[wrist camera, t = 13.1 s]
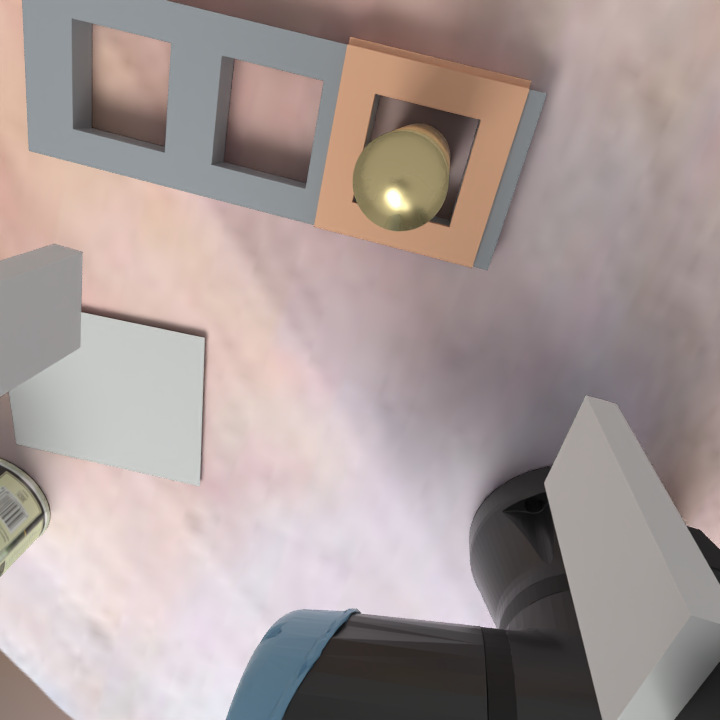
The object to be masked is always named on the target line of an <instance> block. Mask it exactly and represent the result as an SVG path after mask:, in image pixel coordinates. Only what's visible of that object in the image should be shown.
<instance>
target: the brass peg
mask: <svg viewBox="0 0 720 720" xmlns="http://www.w3.org/2000/svg"><path fill="white" fill-rule="evenodd" d="M449 170H450V149H449V145H448V143H447V141H446V139H445V137H444V136H443V135H442V133H441V132H440V131H438V130H437V129H436V128H434V127H432V126H430V125H427V124H423V123H414V124H410V125H407V126H404V127H401V128H399V129H396V130H394V131H391V132H389V133H386V134H384V135H381V136H379V137H377V138H376V139H374V140H373V141H372V142H370V143H369V144H368V145H367V146H366V147H365V148H364V150H363V151H362V152H361V154H360V156H359V157H358V159H357V162H356V164H355V168H354V171H353V183H352V184H353V192H354V196H355V199H356V202H357V204H358V206H359V208H360V209H361V211H362V212H363V214H364V215H365V216H366V217H367V218H368V219H369V220H370V221H371V222H373V223H374V224H376V225H377V226H380V227H382V228H384V229H387V230H391V231H409V230H413V229H416V228H419V227H420V226H422V225H424V224H426V223H427V222H429V221H430V220H431V219H432V218H433V217H434V216H435V215H436V214H437V213H438V211H439V210H440V208H441V207H442V205H443V203H444V201H445V198H446V195H447V191H448V183H449Z"/></svg>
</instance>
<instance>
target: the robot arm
mask: <svg viewBox="0 0 720 720" xmlns="http://www.w3.org/2000/svg"><path fill="white" fill-rule="evenodd" d="M82 253H83V252H82V251H78V250H74V249H71V248H67V247H64V246H60V245H57V244H52V245H49V246H46V247H43V248H39V249H36V250H33V251H30V252H27V253H23V254H20V255H17V256H14V257H11V258H7V259H4V260H1V261H0V397H1V396H2V395H4V394H5V393H7V392H9V391H10V390H12V389H14V388H15V387H17V386H19V385H20V384H22V383H23V382H25V381H27V380H28V379H30V378H32V377H33V376H35V375H36V374H38V373H40V372H41V371H43V370H45V369H46V368H48V367H50V366H51V365H53V364H54V363H56V362H58V361H59V360H61V359H63V358H64V357H66V356H67V355H69V354H71V353H72V352H74V351H76V350H77V349H79V348H80V343H81V298H82ZM469 547H470V565H471V570H472V574H473V578H474V580H475V583H476V585H477V587H478V589H479V591H480V592H481V595H482V597H483V599H484V602H485V604H486V606H487V608H488V610H489V613H490V615H491V617H492V619H493V621H494V623H495V625H496V627H497V629H494V628H485V627H480V626H471V625H462V624H452V623H443V622H434V621H424V620H415V619H405V618H396V617H387V616H377V615H368V614H361V612H360V611H359V610H358V609H348V610H346V611H328V610H308V609H303V610H296V611H293V612H290V613H288V614H286V615H284V616H283V617H282V618H280V619H279V620H278V621H277V622H276V623H275V624H274V625H273V626H272V627H271V628H270V629H269V630H268V632H267V633H266V634H265V636H264V637H263V639H262V640H261V642H260V644H259V645H258V646H257V648H256V650H255V651H254V653H253V655H252V657H251V659H250V661H249V663H248V665H247V667H246V669H245V671H244V673H243V676H242V678H241V680H240V682H239V685H238V688H237V690H236V693H235V695H234V698H233V700H232V703H231V706H230V709H229V712H228V715H227V718H226V720H720V549H719V548H718V547H717V546H716V545H715V544H714V543H713V542H712V541H711V540H710V539H709V538H708V537H707V536H706V535H705V534H704V533H703V532H702V531H701V530H699V529H695V528H692V527H688V526H686V524H685V523H684V521H683V519H682V517H681V516H680V514H679V512H678V510H677V509H676V507H675V505H674V503H673V502H672V500H671V498H670V496H669V495H668V493H667V491H666V489H665V488H664V486H663V484H662V482H661V481H660V479H659V477H658V475H657V474H656V472H655V470H654V468H653V467H652V465H651V463H650V461H649V460H648V458H647V456H646V454H645V453H644V451H643V449H642V447H641V446H640V444H639V442H638V440H637V439H636V437H635V435H634V433H633V431H632V430H631V428H630V426H629V424H628V423H627V421H626V419H625V417H624V416H623V414H622V412H621V410H620V409H619V407H618V405H617V404H616V403H612V402H609V401H605V400H602V399H598V398H595V397H591V396H588V395H586V396H585V398H584V400H583V402H582V404H581V407H580V409H579V411H578V413H577V415H576V417H575V419H574V421H573V423H572V425H571V428H570V430H569V432H568V434H567V436H566V438H565V440H564V442H563V444H562V446H561V449H560V451H559V453H558V455H557V457H556V459H555V461H554V463H553V465H552V467H547V468H542V469H538V470H534V471H531V472H528V473H525V474H522V475H520V476H518V477H516V478H513V479H512V480H510V481H508V482H506V483H505V484H503V485H502V486H500V487H499V488H498V489H496V490H495V491H494V492H493V493H492V494H491V495H490V496H489V497H488V498H487V499H486V500H485V501H484V502H483V503H482V505H481V506H480V508H479V509H478V511H477V513H476V515H475V517H474V519H473V522H472V525H471V529H470V536H469Z"/></svg>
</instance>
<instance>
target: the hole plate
mask: <svg viewBox="0 0 720 720" xmlns="http://www.w3.org/2000/svg"><path fill="white" fill-rule="evenodd" d="M22 8H23V31H24V53H25V76H26V98H27V121H28V143H29V151H32V152H35V153H39V154H43V155H47V156H51V157H55V158H58V159H62V160H66V161H70V162H74V163H78V164H81V165H85V166H89V167H93V168H97V169H101V170H104V171H108V172H112V173H116V174H120V175H124V176H128V177H131V178H135V179H139V180H143V181H147V182H151V183H154V184H158V185H162V186H166V187H170V188H174V189H177V190H181V191H185V192H189V193H193V194H197V195H200V196H204V197H208V198H212V199H216V200H220V201H223V202H227V203H231V204H235V205H239V206H243V207H247V208H250V209H254V210H258V211H262V212H266V213H270V214H273V215H277V216H281V217H285V218H289V219H293V220H296V221H300V222H304V223H308V224H312V225H314V227H317V228H321V229H325V230H328V231H332V232H336V233H340V234H344V235H348V236H351V237H355V238H359V239H363V240H367V241H371V242H375V243H378V244H382V245H386V246H390V247H394V248H398V249H401V250H405V251H409V252H413V253H417V254H421V255H424V256H428V257H432V258H436V259H440V260H444V261H447V262H451V263H455V264H459V265H463V266H467V267H470V268H472V266H473V267H477V268H481V269H485V270H488V268H489V265H490V262H491V259H492V256H493V253H494V250H495V247H496V244H497V241H498V238H499V235H500V232H501V229H502V226H503V223H504V220H505V217H506V215H507V212H508V209H509V206H510V203H511V200H512V197H513V194H514V191H515V188H516V185H517V182H518V179H519V176H520V173H521V170H522V167H523V164H524V161H525V158H526V155H527V152H528V149H529V146H530V143H531V140H532V137H533V134H534V131H535V128H536V125H537V122H538V119H539V116H540V113H541V110H542V107H543V104H544V101H545V98H546V95H547V93H543V92H539V91H535V90H531V89H529V87H530V84H531V81H530V80H526V79H522V78H518V77H513V76H509V75H505V74H501V73H497V72H493V71H489V70H485V69H481V68H476V67H472V66H468V65H464V64H460V63H456V62H452V61H448V60H444V59H440V58H435V57H431V56H427V55H423V54H419V53H415V52H411V51H407V50H403V49H399V48H394V47H390V46H386V45H382V44H378V43H374V42H370V41H366V40H362V39H358V38H353V37H350V40H349V45H348V44H342V43H338V42H334V41H330V40H326V39H322V38H318V37H314V36H310V35H306V34H302V33H298V32H293V31H289V30H285V29H281V28H277V27H273V26H269V25H265V24H261V23H257V22H253V21H248V20H244V19H240V18H236V17H232V16H228V15H224V14H220V13H216V12H212V11H208V10H203V9H199V8H195V7H191V6H187V5H183V4H179V3H175V2H171V1H167V0H22ZM92 23H93V24H97V25H101V26H105V27H109V28H113V29H117V30H121V31H125V32H129V33H133V34H137V35H141V36H145V37H149V38H153V39H157V40H161V41H165V42H169V43H171V56H170V73H169V89H168V106H167V123H166V140H165V147H164V146H160V145H156V144H152V143H149V142H145V141H141V140H137V139H133V138H129V137H125V136H121V135H117V134H114V133H110V132H106V131H102V130H98V129H94V128H92ZM234 59H238V60H242V61H246V62H250V63H254V64H258V65H262V66H266V67H270V68H274V69H278V70H282V71H286V72H290V73H294V74H298V75H302V76H306V77H310V78H314V79H318V80H322V81H324V84H323V89H322V95H321V101H320V107H319V113H318V119H317V124H316V130H315V136H314V142H313V148H312V154H311V159H310V165H309V171H308V177H307V183H304V182H300V181H296V180H292V179H289V178H285V177H281V176H277V175H273V174H269V173H265V172H261V171H257V170H254V169H250V168H246V167H242V166H238V165H234V164H230V163H226V162H224V152H225V143H226V133H227V124H228V114H229V105H230V95H231V86H232V76H233V67H234ZM380 95H382V96H386V97H390V98H395V99H399V100H403V101H407V102H411V103H415V104H419V105H423V106H427V107H431V108H435V109H439V110H443V111H447V112H451V113H455V114H459V115H463V116H467V117H471V118H475V119H479V122H478V125H477V128H476V132H475V135H474V139H473V142H472V146H471V149H470V152H469V156H468V159H467V163H466V166H465V170H464V173H463V176H462V180H461V183H460V187H459V190H458V194H457V197H456V200H455V204H454V207H453V211H452V214H451V218H450V220H448V219H444V218H440V217H436V216H434V217H433V218H432V219H431V220H430V221H429V222H427V223H426V224H424V225H422V226H420V227H419V228H416V229H413V230H409V231H391V230H387V229H384V228H382V227H380V226H377V225H376V224H374V223H373V222H371V221H370V220H369V219H368V218H367V217H366V216H365V215H364V214H363V212H362V211H361V209H360V208H359V206H358V204H357V202H356V199H355V196H354V192H353V184H352V183H353V171H354V168H355V164H356V162H357V159H358V157H359V156H360V154H361V152H362V151H363V150H364V148H365V147H366V146H367V145H368V144H369V143H370V139H371V135H372V130H373V125H374V121H375V116H376V111H377V107H378V102H379V97H380Z"/></svg>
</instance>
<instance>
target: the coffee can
mask: <svg viewBox="0 0 720 720" xmlns="http://www.w3.org/2000/svg"><path fill="white" fill-rule="evenodd" d="M49 519H50V511H49V506H48V503H47V500H46V497H45V496H44V494H43V493H42V491H41V489H40V488H39V486H38V485H37V484H36V483H35V482H34V481H33V479H32V478H31V477H29V476H28V475H27V474H26V473H25V472H24V471H22V470H21V469H19V468H18V467H17V466H15V465H14V464H11V463H9V462H7V461H5V460H3V459H0V577H1V576H2V575H3V574H4V573H5V571H6V570H7V569H8V568H9V567H10V566H11V565H12V564H13V563H14V562H15V561H16V560H17V559H18V558H19V557H20V556H21V555H22V554H23V553H24V552H25V551H26V549H27V548H28V547H29V546H30V545H31V544H32V543H33V542H34V541H35V540H36V539H37V538H38V537H40V536H41V535H42V534H43V533H44V532H45V530H46V529H47V527H48V524H49Z"/></svg>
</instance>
